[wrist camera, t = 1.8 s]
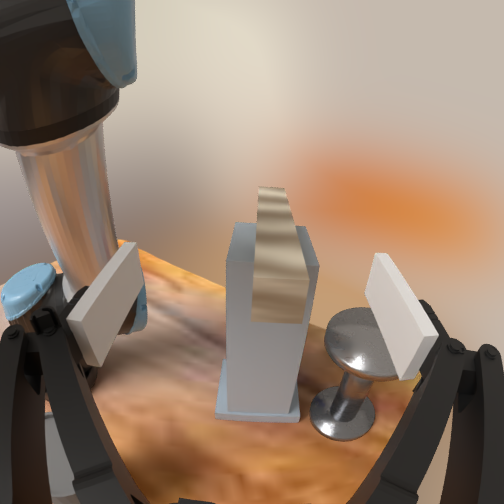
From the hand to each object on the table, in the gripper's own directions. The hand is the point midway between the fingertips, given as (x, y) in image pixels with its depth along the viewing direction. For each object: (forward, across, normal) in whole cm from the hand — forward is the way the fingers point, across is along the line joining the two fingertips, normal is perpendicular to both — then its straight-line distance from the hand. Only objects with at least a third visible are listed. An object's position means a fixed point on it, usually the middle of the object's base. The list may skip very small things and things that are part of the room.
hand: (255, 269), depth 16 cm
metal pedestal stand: (+13, +17, -38) cm, 43 cm away
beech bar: (+18, +2, -8) cm, 20 cm away
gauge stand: (+18, +2, -38) cm, 42 cm away
